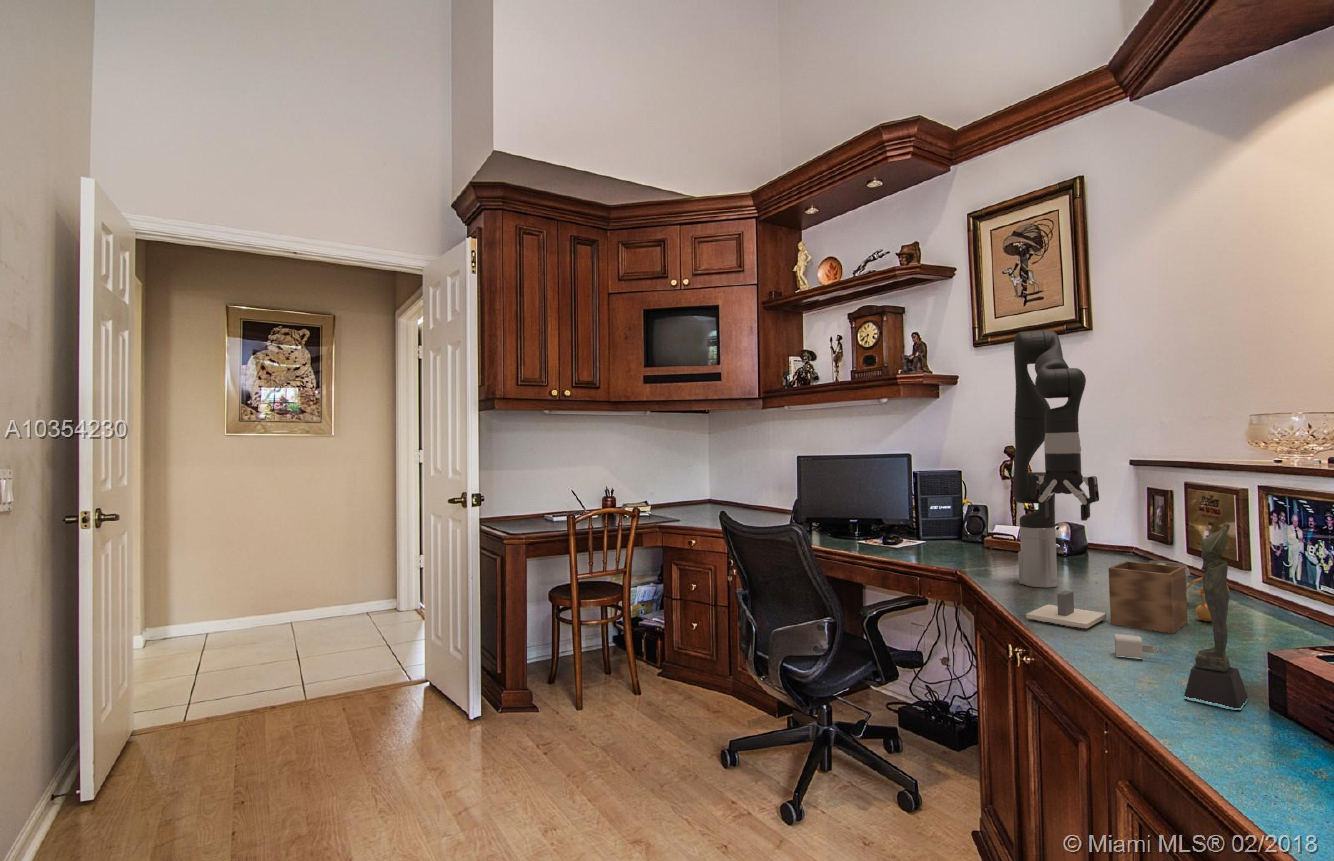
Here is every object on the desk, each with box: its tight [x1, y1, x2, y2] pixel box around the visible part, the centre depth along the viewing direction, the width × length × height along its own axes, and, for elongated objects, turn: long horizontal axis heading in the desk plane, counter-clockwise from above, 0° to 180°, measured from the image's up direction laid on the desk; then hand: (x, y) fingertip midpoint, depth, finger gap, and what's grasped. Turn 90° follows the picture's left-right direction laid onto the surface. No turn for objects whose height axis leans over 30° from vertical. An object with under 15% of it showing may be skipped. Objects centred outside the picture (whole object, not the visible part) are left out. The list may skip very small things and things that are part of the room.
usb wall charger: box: [1114, 633, 1159, 659], centre depth 135 cm, size 4×7×4 cm, turn 60°
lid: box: [1025, 590, 1107, 629], centre depth 162 cm, size 13×13×7 cm
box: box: [1108, 560, 1189, 634], centre depth 158 cm, size 12×12×13 cm
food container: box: [1148, 560, 1191, 588], centre depth 176 cm, size 12×6×10 cm, turn 168°
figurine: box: [1186, 576, 1231, 622], centre depth 158 cm, size 8×6×12 cm
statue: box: [1183, 521, 1249, 708], centre depth 113 cm, size 7×8×30 cm
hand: (1064, 518), depth 163 cm, fingers open, 8 cm apart
